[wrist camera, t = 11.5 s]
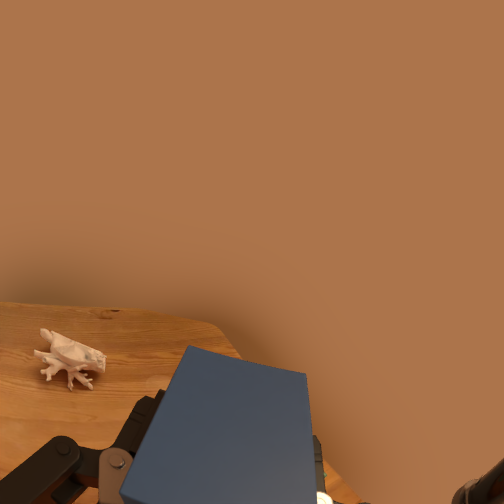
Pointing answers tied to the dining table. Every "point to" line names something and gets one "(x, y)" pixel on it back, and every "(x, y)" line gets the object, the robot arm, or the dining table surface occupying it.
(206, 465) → the block
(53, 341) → the beige spiky lump
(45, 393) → the dining table surface
